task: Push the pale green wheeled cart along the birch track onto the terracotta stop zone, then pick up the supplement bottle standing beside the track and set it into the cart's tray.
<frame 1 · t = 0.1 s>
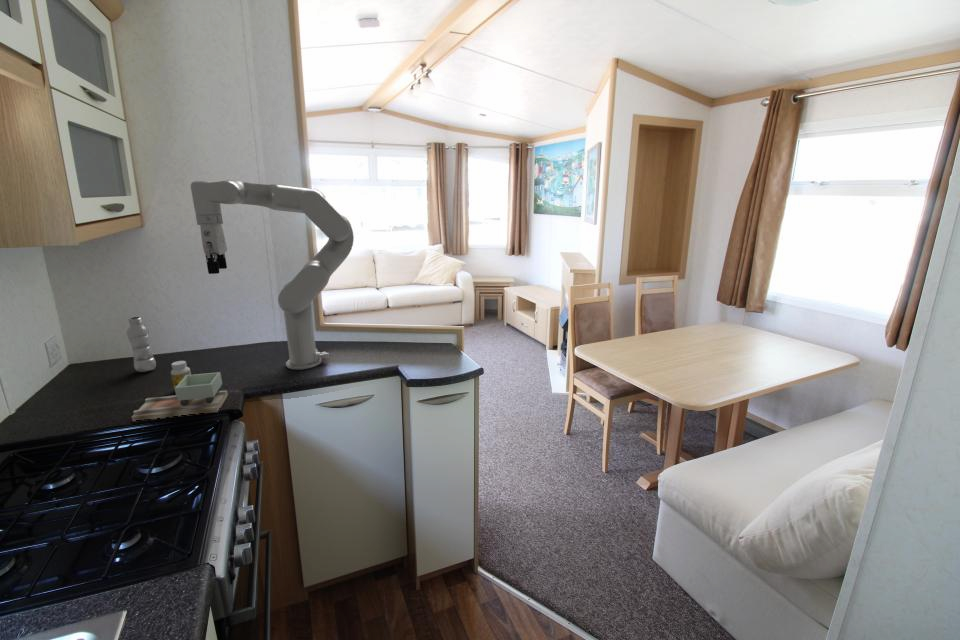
hand: (218, 271, 156), 37 cm above the countertop, tool pointing down, fingers open, 9 cm apart
supplement bottle: (184, 390, 151), on the countertop
cart: (200, 388, 138), point 6 cm above the countertop, slide at 0.0 cm
track: (183, 407, 138), on the countertop
plastic bottle: (146, 371, 166), on the countertop
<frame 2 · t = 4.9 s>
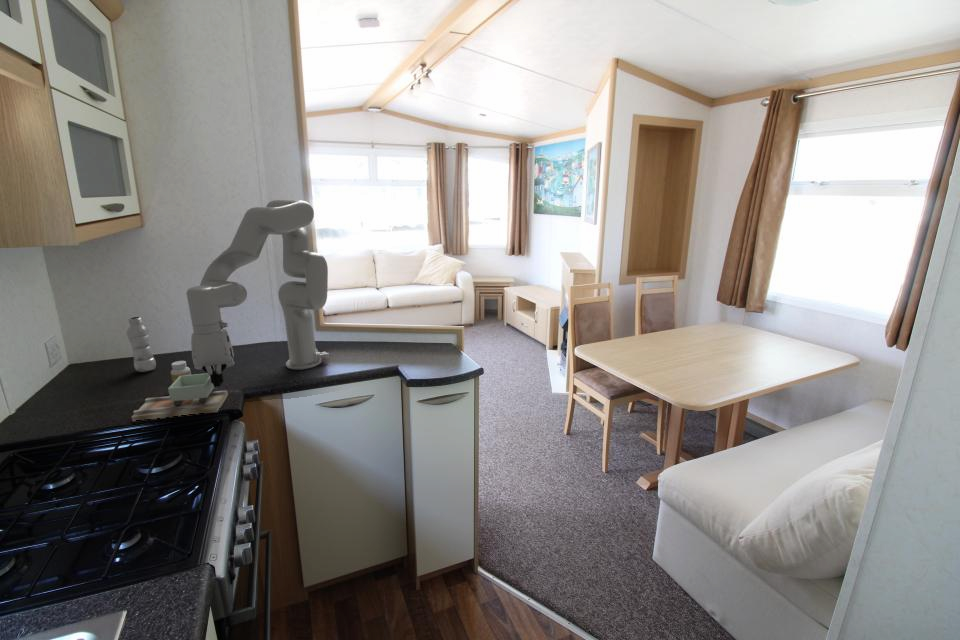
hand: (218, 384, 139), 6 cm above the countertop, tool pointing down, fingers closed
cart: (193, 389, 138), point 6 cm above the countertop, slide at 1.7 cm, touching gripper
everything else where it was.
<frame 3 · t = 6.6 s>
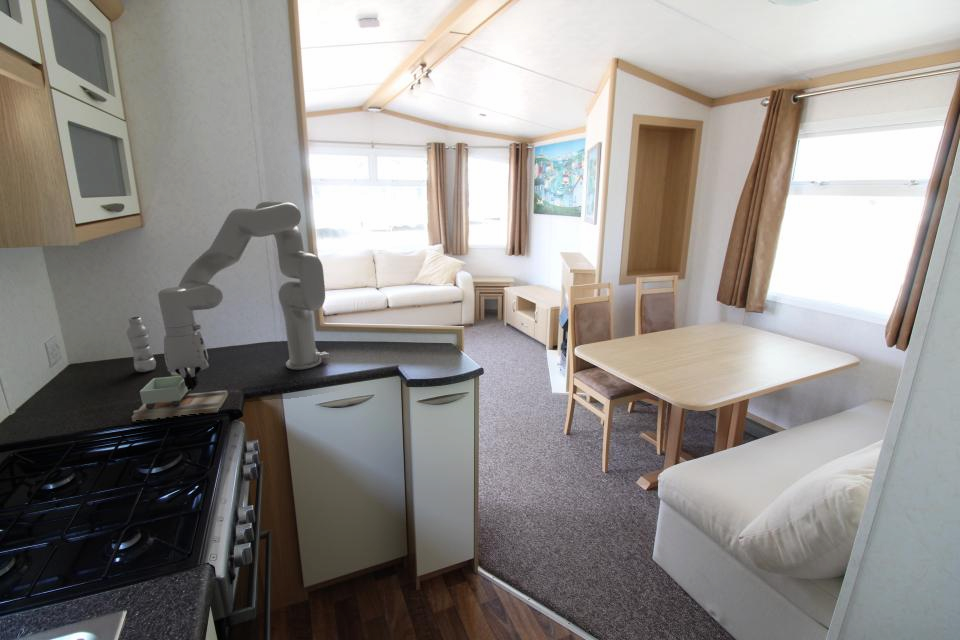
hand: (192, 387, 138), 6 cm above the countertop, tool pointing down, fingers closed
cart: (167, 392, 136), point 6 cm above the countertop, slide at 8.8 cm, touching gripper
everything else where it was.
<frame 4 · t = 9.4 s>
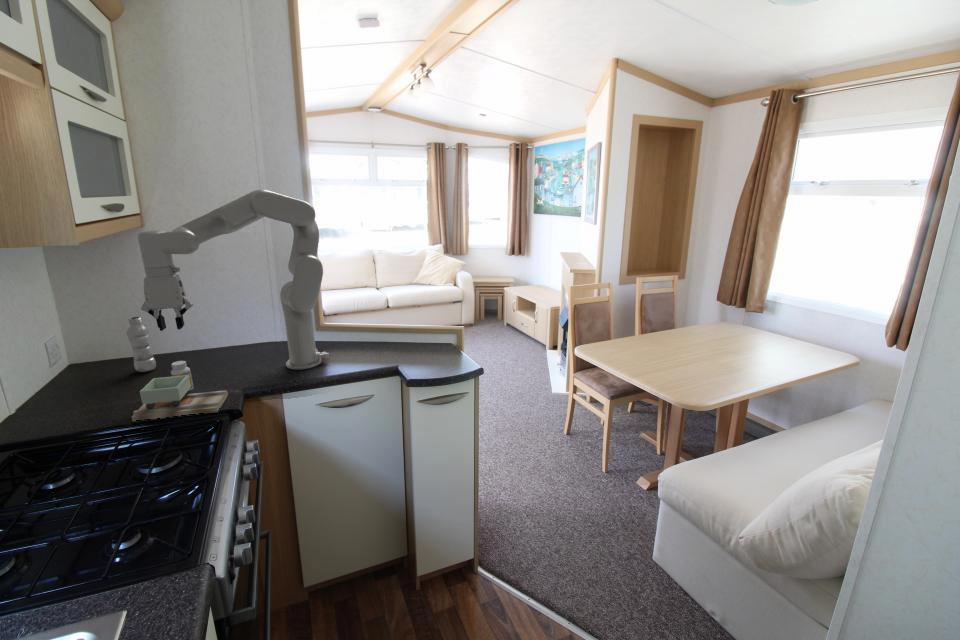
hand: (171, 328, 144), 21 cm above the countertop, tool pointing down, fingers open, 4 cm apart
cart: (167, 392, 136), point 6 cm above the countertop, slide at 8.8 cm
everything else where it was.
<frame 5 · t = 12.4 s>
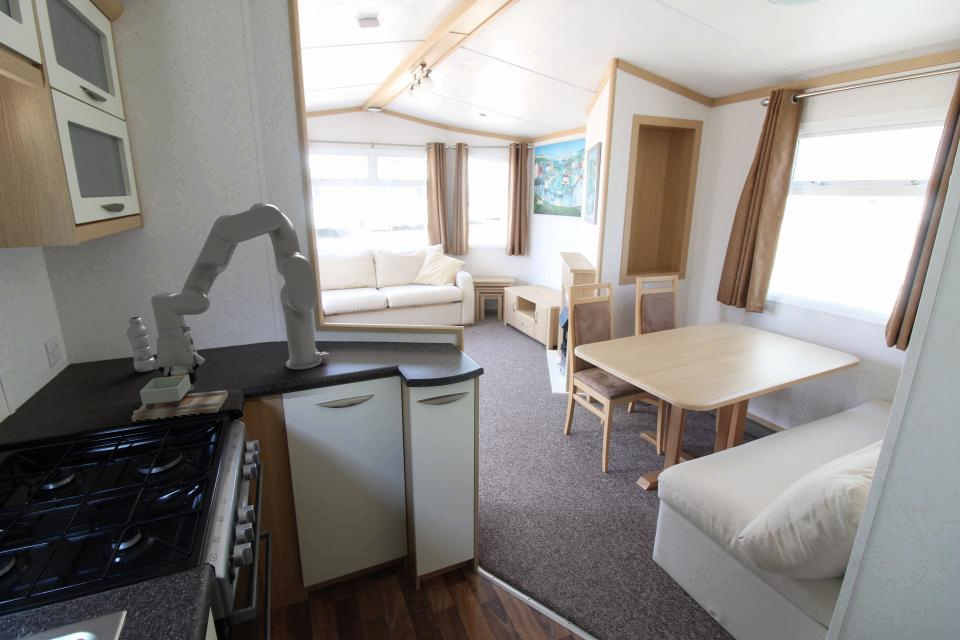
hand: (182, 383, 150), 2 cm above the countertop, tool pointing down, fingers closed on supplement bottle, 5 cm apart
supplement bottle: (184, 390, 151), on the countertop, touching gripper
everything else where it was.
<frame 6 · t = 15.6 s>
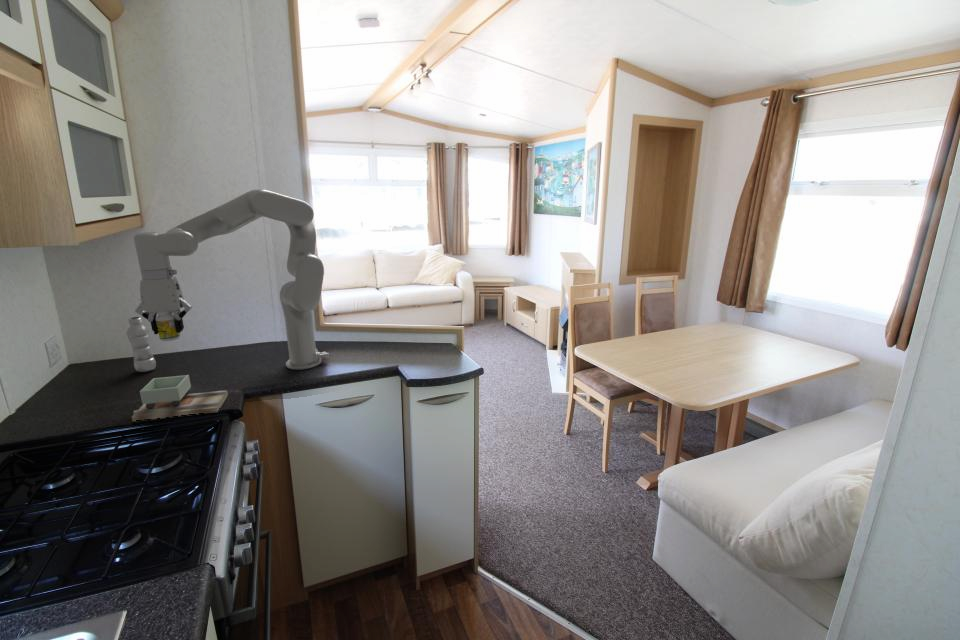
hand: (168, 331, 141), 21 cm above the countertop, tool pointing down, fingers closed on supplement bottle, 5 cm apart
supplement bottle: (170, 339, 141), point 19 cm above the countertop, touching gripper
everything else where it was.
when the fingers open (9 cm above the countertop, at t = 18.9 s): supplement bottle drops 1 cm, resting on cart.
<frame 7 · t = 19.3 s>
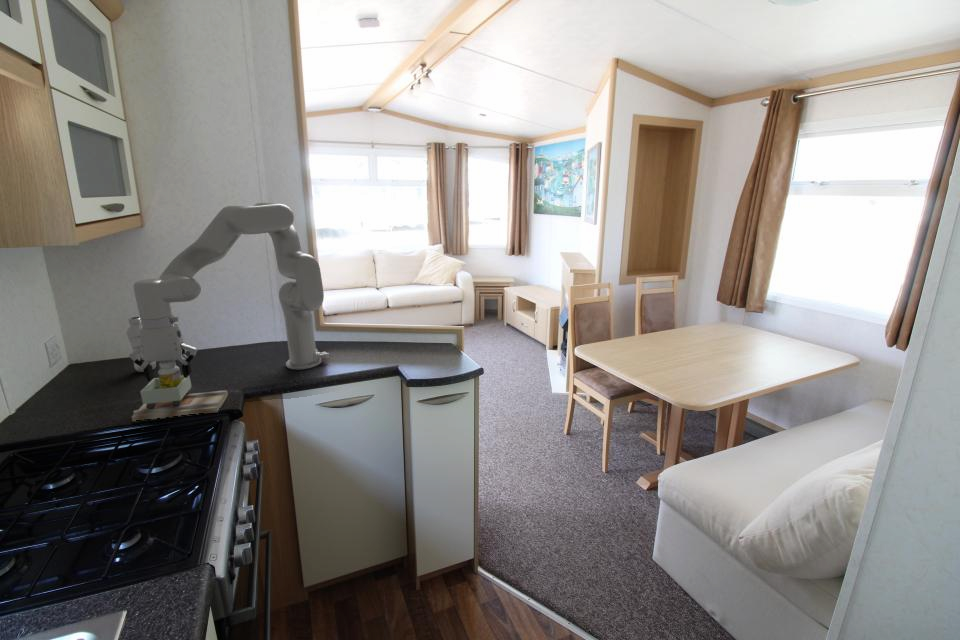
hand: (169, 377, 135), 10 cm above the countertop, tool pointing down, fingers open, 9 cm apart
supplement bottle: (173, 391, 137), point 5 cm above the countertop, touching cart
cart: (167, 392, 136), point 6 cm above the countertop, slide at 8.7 cm, touching supplement bottle
everything else where it was.
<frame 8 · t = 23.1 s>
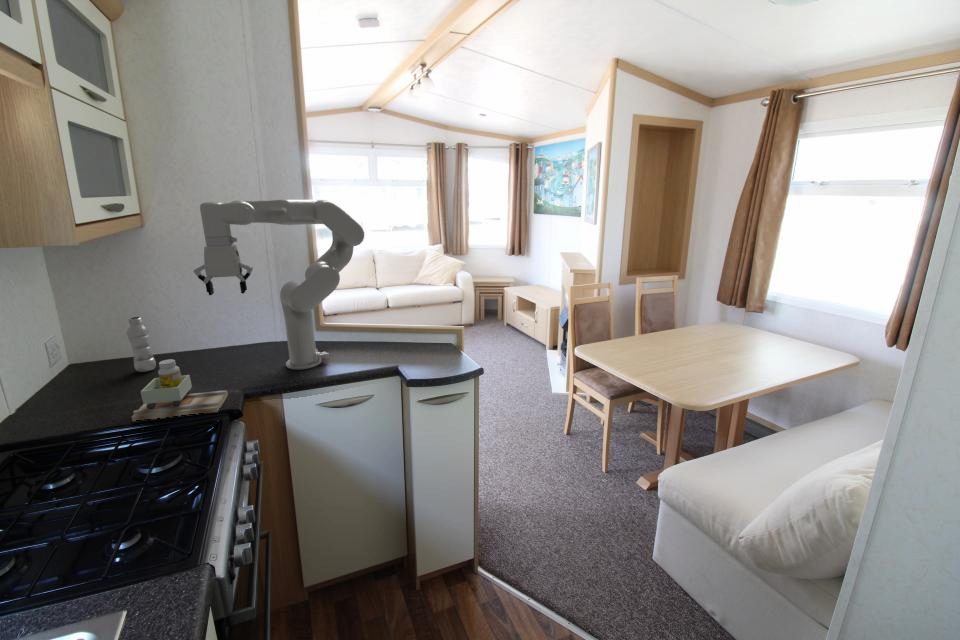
hand: (227, 293, 151), 30 cm above the countertop, tool pointing down, fingers open, 9 cm apart
nothing on the countertop moved.
at the end: cart slide at 8.6 cm; supplement bottle touching cart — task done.
